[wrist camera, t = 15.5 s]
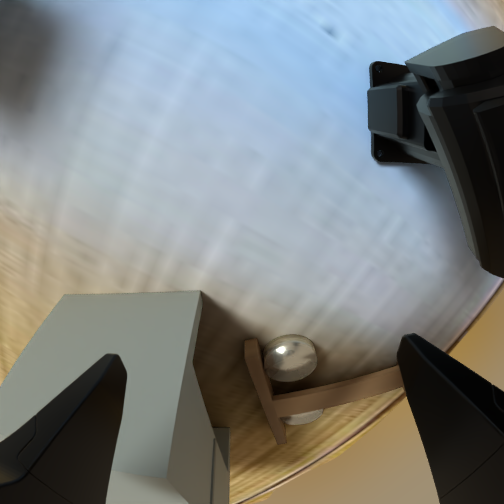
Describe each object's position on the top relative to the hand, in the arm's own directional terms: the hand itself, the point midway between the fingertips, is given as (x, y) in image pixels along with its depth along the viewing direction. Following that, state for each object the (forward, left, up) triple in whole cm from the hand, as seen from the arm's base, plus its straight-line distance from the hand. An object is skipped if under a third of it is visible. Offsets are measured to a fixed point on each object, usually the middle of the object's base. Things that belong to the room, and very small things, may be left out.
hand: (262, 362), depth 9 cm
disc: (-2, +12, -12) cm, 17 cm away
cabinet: (+10, +15, -12) cm, 22 cm away
